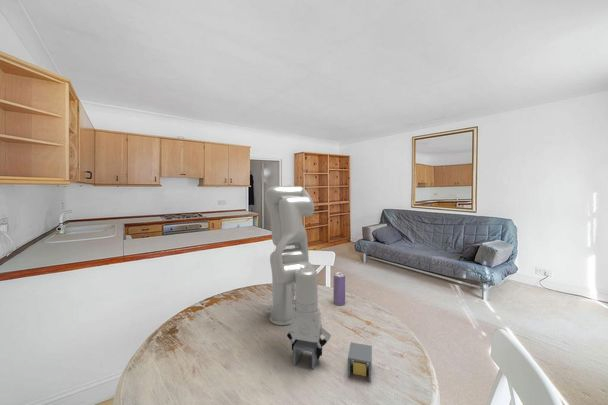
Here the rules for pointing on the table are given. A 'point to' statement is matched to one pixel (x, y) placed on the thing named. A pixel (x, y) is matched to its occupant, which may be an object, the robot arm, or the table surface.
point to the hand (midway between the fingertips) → (306, 354)
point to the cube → (359, 368)
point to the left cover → (305, 346)
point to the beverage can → (339, 288)
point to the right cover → (360, 356)
